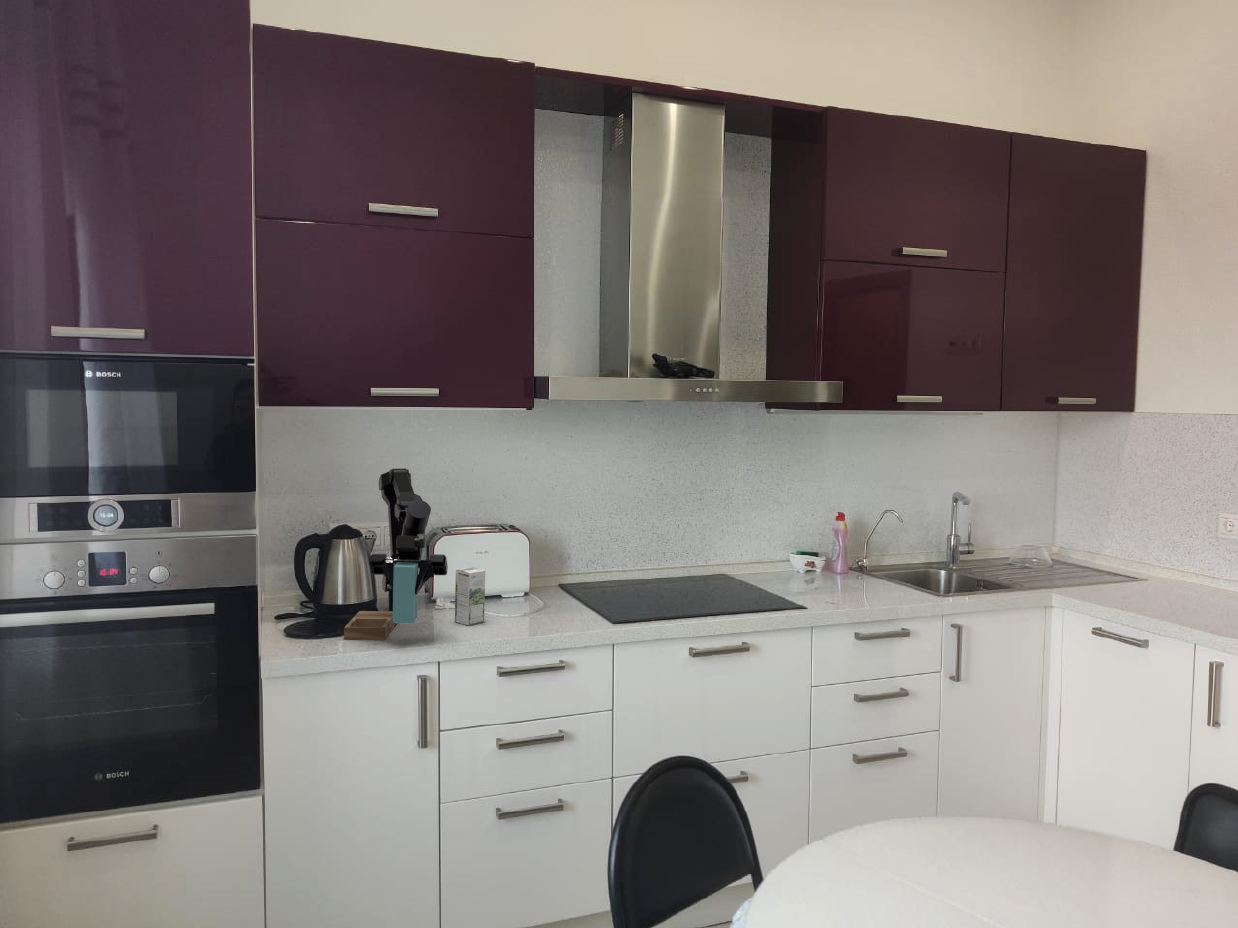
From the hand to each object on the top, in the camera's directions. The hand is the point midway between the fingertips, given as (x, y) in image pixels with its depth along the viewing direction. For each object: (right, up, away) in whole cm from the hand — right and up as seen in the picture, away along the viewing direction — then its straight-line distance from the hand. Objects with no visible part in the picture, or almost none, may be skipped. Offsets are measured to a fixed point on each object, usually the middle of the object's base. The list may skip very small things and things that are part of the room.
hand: (404, 593), depth 226 cm
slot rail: (-12, -11, +13) cm, 21 cm away
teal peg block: (0, -7, +2) cm, 7 cm away
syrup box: (+12, -11, +24) cm, 29 cm away
